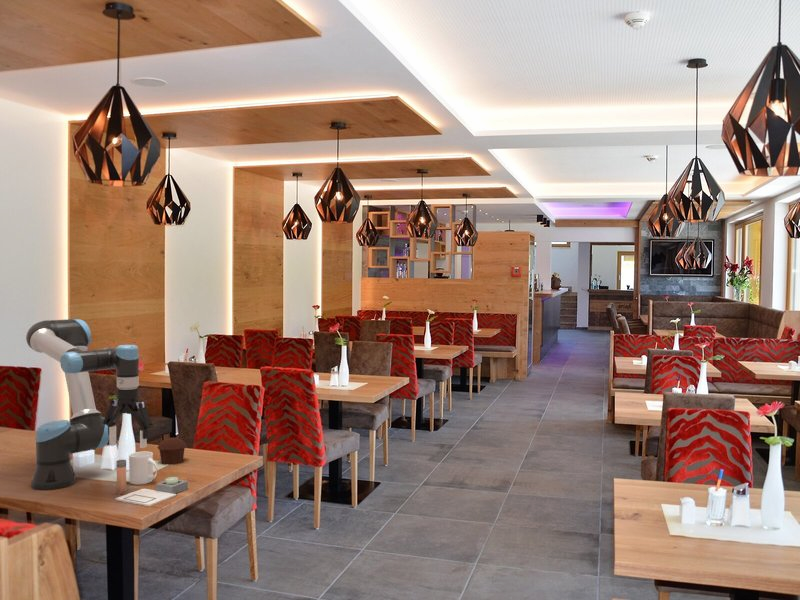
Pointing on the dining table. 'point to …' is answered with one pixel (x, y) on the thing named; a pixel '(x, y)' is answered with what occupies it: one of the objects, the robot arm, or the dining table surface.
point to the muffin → (172, 450)
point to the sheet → (146, 497)
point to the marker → (121, 477)
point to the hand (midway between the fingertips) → (128, 445)
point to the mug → (141, 468)
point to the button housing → (172, 487)
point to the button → (171, 480)
